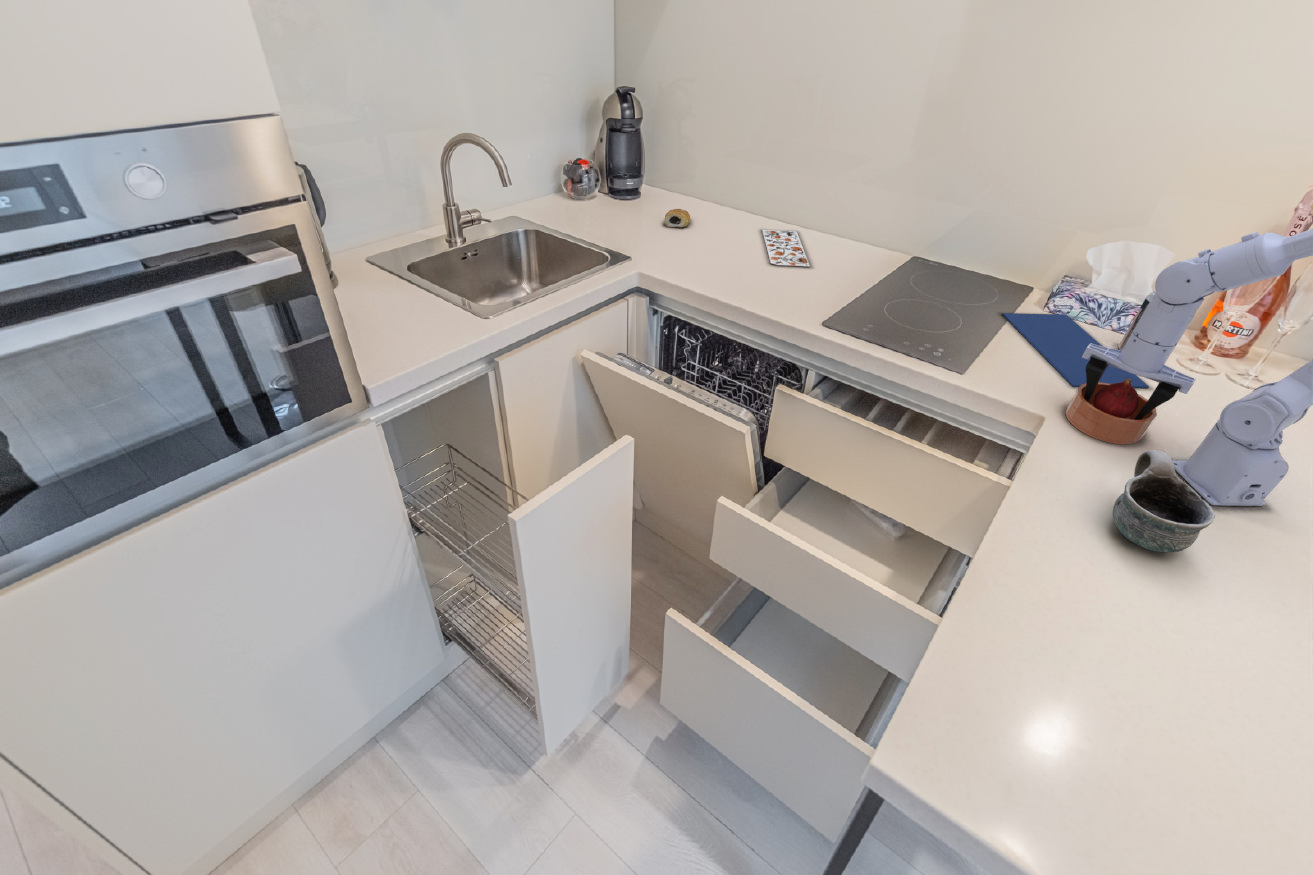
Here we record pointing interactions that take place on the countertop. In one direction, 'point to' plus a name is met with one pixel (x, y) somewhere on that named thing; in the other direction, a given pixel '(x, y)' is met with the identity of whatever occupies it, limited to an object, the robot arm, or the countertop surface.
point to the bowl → (1107, 419)
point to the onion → (1117, 399)
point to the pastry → (677, 218)
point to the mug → (1160, 507)
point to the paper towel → (785, 248)
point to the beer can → (1136, 320)
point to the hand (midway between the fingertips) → (1110, 410)
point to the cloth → (1065, 347)
